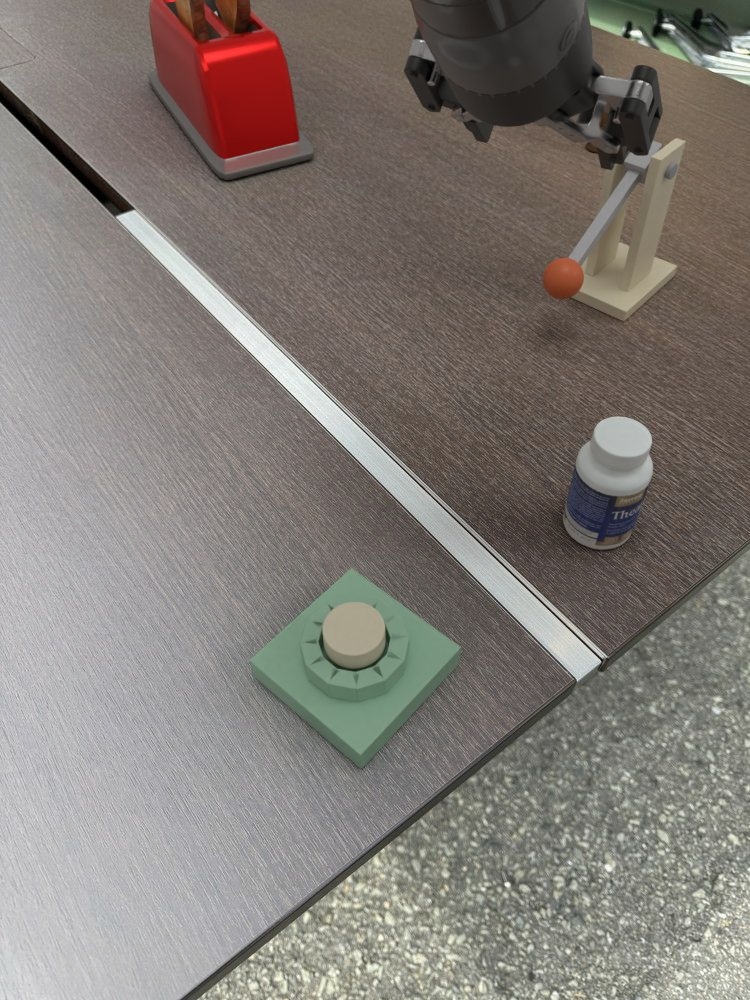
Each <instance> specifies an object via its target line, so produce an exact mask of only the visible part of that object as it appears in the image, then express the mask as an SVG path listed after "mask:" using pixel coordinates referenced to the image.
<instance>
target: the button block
mask: <svg viewBox="0 0 750 1000" xmlns="http://www.w3.org/2000/svg"><path fill="white" fill-rule="evenodd" d="M348 602H361V603H365V604H368V605H370V606H372V607H373V608H375V609H376V610H377V611H378V612H379V613H380V614H381V616H382V618H383V620H384V623H385V648H384V651H383V653H382V654H381V656H380V657H379V658H378V659H377V660H376V661H375V662H374V663H372V664H371V665H369V666H366V667H363V668H358V669H349V668H344V667H342V666H339V665H337V664H336V663H334V662H333V661H332V660H331V659H330V658H329V657H328V655H327V653H326V651H325V648H324V641H323V632H322V627H323V623H324V620H325V618H326V616H327V615H328V614H329V613H330V612H331V611H332V610H333V609H334V608H335V607H337V606H339V605H341V604H344V603H348ZM461 651H462V646H460V645H458V643H456V642H454V641H453V640H452V639H450V638H449V637H448V636H446V635H445V634H444V633H442V632H441V631H440V630H438V629H436V628H435V627H434V626H432V625H431V624H430V623H428V622H427V621H426V620H424V619H423V618H422V617H420V616H419V615H417V614H416V613H414V611H412V610H410V609H409V608H408V607H407V606H404V605H403V604H402V603H401V602H400V601H398V600H396V599H395V598H394V597H392V596H391V594H388V593H387V592H386V591H384V590H383V589H381V588H380V587H379V586H377V585H376V584H374V583H373V582H372V581H371V580H369V579H368V578H367V577H365V576H363V575H362V574H360V573H359V572H358V571H356V570H355V569H354V568H352V567H350V568H349V569H348V570H347V571H346V572H344V574H343V575H342V576H341V577H339V578H338V579H337V580H336V581H335V582H334V583H333V584H332V585H330V586H329V587H328V588H327V589H326V590H325V591H324V592H323V593H322V594H321V595H319V596H318V597H317V598H316V599H315V600H314V601H313V602H312V603H311V604H310V605H308V606H307V607H306V608H305V609H303V611H302V612H301V613H299V614H298V615H297V616H296V617H295V618H294V619H293V620H291V621H290V623H288V624H287V625H286V626H285V627H284V628H283V629H282V630H281V631H280V632H278V633H277V634H276V635H275V636H274V637H273V638H272V639H270V641H268V642H267V643H266V644H265V645H264V646H263V647H262V648H261V649H260V650H259V651H258V652H256V653H255V654H254V655H253V656H252V657H251V658H250V659H249V660H248V662H249V665H250V668H251V669H250V670H251V673H252V676H253V678H255V679H256V680H257V681H258V682H259V683H260V684H262V685H263V686H264V687H265V688H266V689H267V690H268V691H270V692H271V694H273V695H274V696H275V697H276V698H277V699H279V700H280V701H281V702H282V703H284V704H285V705H286V706H287V707H288V708H289V709H291V710H292V711H293V712H294V713H295V714H296V715H297V716H299V717H300V718H301V719H302V720H303V721H304V722H306V723H307V724H308V725H309V726H310V727H311V728H313V729H314V730H315V731H316V732H317V733H318V734H320V735H321V736H322V737H323V738H324V739H325V740H326V741H328V742H329V743H330V744H331V745H332V746H334V747H335V748H336V749H337V750H338V751H339V752H341V754H343V755H344V756H345V757H346V758H347V759H349V760H350V761H351V762H352V763H353V764H355V765H356V766H357V767H358V768H359V769H361V770H363V769H364V768H365V767H366V765H367V764H369V762H370V761H371V760H372V759H373V758H374V757H375V756H376V755H377V754H378V753H379V751H380V750H381V749H382V748H383V747H384V746H385V745H386V744H387V742H389V741H390V739H391V738H392V737H393V736H394V735H395V734H396V733H397V732H398V731H399V729H401V728H402V727H403V726H404V725H405V724H406V722H408V720H409V719H410V718H411V717H412V716H413V714H414V713H415V712H416V711H417V710H418V709H419V708H420V707H421V706H422V705H423V704H424V703H425V702H426V700H428V698H430V696H431V695H432V694H433V693H434V692H435V691H436V690H437V689H438V687H440V685H441V684H442V683H443V682H444V681H445V680H446V679H447V678H448V677H449V676H450V675H451V673H453V671H454V670H455V669H456V668H457V667H458V666H459V665H460V659H461V654H462V653H461Z"/></svg>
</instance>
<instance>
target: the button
mask: <svg viewBox="0 0 750 1000" xmlns="http://www.w3.org/2000/svg"><path fill="white" fill-rule="evenodd" d="M322 632H323V641H324V648H325V651H326V653H327V655H328V657H329V658H330V659H331V660H332V661H333V662H334V663H336V664H337V665H339V666H342V667H344V668H349V669H358V668H363V667H366V666H369V665H371V664H372V663H374V662H375V661H376V660H377V659H378V658H379V657H380V656H381V654H382V653H383V651H384V648H385V623H384V620H383V618H382V616H381V614H380V613H379V612H378V611H377V610H376V609H375V608H373V607H372V606H370V605H368V604H365V603H361V602H348V603H344V604H341V605H339V606H337V607H335V608H334V609H333V610H332V611H331V612H330V613H329V614H328V615H327V616H326V618H325V620H324V623H323V627H322Z"/></svg>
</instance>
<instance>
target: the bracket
mask: <svg viewBox="0 0 750 1000" xmlns="http://www.w3.org/2000/svg"><path fill="white" fill-rule="evenodd" d="M686 142H687V141H686V140H683V139H681V138H678V137H675V138H674V139H673V140H671V141H670V142H668V143H667V144H666V145H664V146H663V148H662V149H661V150H659V151H658V152H657V153H655V154H654V155H653V156H651V159H650V163H649V167H648V172H647V176H646V180H645V184H643V188H642V192H641V197H640V201H639V205H638V210H637V214H636V218H635V221H634V226H633V230H632V234H631V238H630V241H629V245H628V244H625V243H623V242H620V240H621V236H622V231H623V228H624V223H625V219H626V215H627V210H628V206H629V201H630V197H631V194H630V195H629V197H628V198H627V200H626V201H625V203H624V204H623V206H622V207H621V208H620V210H619V211H618V213H617V214H616V216H615V217H614V219H613V220H612V222H611V223H610V225H609V226H608V227H607V229H606V230H605V232H604V233H603V235H602V236H601V238H600V239H599V241H598V242H597V243H596V245H595V246H594V248H593V249H592V251H591V252H590V254H589V255H588V257H587V258H586V260H585V261H584V262H583V264H582V265H581V268H582V270H583V273H584V281H583V285H582V287H581V289H580V290H579V291H578V292H577V294H575V295H574V296H572V297H570V298H571V299H574V300H575V301H577V302H579V303H581V304H584V305H585V306H586V305H587V306H588V307H591V308H593V309H595V310H597V311H600V312H602V313H604V314H606V315H608V316H611V317H613V318H615V319H617V320H619V321H621V322H624V323H625V322H626V320H628V319H629V318H630V317H631V316H632V315H633V314H635V312H636V311H637V310H639V309H640V308H641V307H642V306H643V305H644V304H645V303H646V302H647V301H649V300H650V299H651V298H652V297H653V296H654V295H655V294H656V293H657V292H658V291H659V290H661V289H662V288H663V287H664V286H665V285H666V284H667V283H669V282H670V281H671V280H672V279H673V278H674V277H675V276H676V272H677V270H678V265H676V264H674V263H672V262H669V261H666V260H664V259H662V258H659V257H657V256H656V253H657V249H658V246H659V242H660V239H661V235H662V231H663V228H664V224H665V220H666V216H667V212H668V209H669V206H670V202H671V198H672V194H673V190H674V187H675V183H676V180H677V175H678V172H679V168H680V166H681V165H680V164H681V161H682V157H683V154H684V150H685V146H686ZM629 153H630V152H629V151H628V152H627V155H626V157H627V156H628V155H629ZM625 159H626V158H625ZM624 176H625V167H624V163H623V164H622V165H620V164H615V165H614V168H613V170H608V169H604V175H603V181H602V185H601V191H600V196H599V199H598V204H597V210H596V215H595V217H596V216H597V215H598V214H599V212H600V211H601V209H602V208H603V206H604V205H605V203H606V202H607V200H608V199H609V198H610V196H611V195H612V193H613V192H614V190H615V189H616V187H617V186H618V184H619V183H620V182H621V180H622V179H623V177H624Z"/></svg>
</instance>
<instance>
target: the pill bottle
mask: <svg viewBox="0 0 750 1000" xmlns="http://www.w3.org/2000/svg"><path fill="white" fill-rule="evenodd" d="M652 444H653V437H652V434H651V432H650V431H649V429H648V428H647V427H646V426H645V425H644V424H642V423H641V422H639V421H637V419H633V418H630V417H626V416H620V415H619V416H617V415H616V416H611V417H606V418H604V419H601V421H599V422H598V423H596V426H595V427H594V429H593V433H592V435H591V438H590V439H589V440H588V441H586V443H585V444H584V445H582V447H581V448H580V449H579V450H578V453H577V457H576V460H575V463H574V467H573V472H572V476H571V480H570V484H569V489H568V492H567V497H566V500H565V504H564V509H563V515H562V522H563V526H564V528H565V531H566V532H567V533H568V535H569V536H571V539H574V540H575V542H577V543H578V544H580V545H583V546H584V547H587V548H590V549H594V550H611V549H615V548H618V547H621V546H622V545H623V544H625V543H626V542H627V541H628V540H629V538H630V537H631V535H632V533H633V530H634V529H635V526H636V523H637V520H638V517H639V514H640V512H641V509H642V506H643V503H644V500H645V498H646V494H647V492H648V489H649V487H650V484H651V481H652V478H653V473H654V463H653V460H652V458H651V456H650V451H651V448H652Z"/></svg>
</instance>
